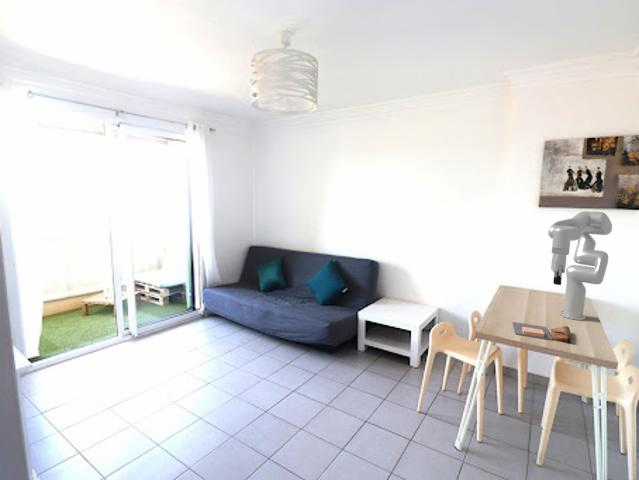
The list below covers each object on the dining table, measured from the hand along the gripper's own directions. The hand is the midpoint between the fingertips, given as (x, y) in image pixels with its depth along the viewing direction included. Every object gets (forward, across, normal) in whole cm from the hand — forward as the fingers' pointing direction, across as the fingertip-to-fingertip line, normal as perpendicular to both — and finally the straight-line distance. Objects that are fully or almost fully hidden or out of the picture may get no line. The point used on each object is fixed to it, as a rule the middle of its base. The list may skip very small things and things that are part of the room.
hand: (557, 284), depth 180 cm
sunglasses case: (+25, +12, +2) cm, 28 cm away
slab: (+23, +13, -11) cm, 29 cm away
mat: (+24, +11, -11) cm, 29 cm away
